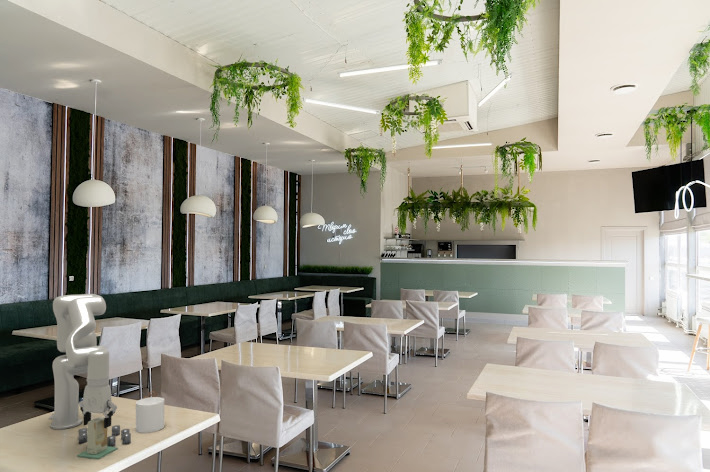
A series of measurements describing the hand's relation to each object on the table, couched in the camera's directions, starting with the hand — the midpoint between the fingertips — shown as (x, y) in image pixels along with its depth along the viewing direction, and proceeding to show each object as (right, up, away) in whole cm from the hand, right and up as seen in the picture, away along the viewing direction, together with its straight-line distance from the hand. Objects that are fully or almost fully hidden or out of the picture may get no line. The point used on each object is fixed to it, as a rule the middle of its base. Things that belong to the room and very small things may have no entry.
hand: (97, 425), depth 192 cm
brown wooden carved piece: (+5, -12, +41) cm, 42 cm away
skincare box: (0, -10, -1) cm, 10 cm away
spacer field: (-3, -11, +12) cm, 16 cm away
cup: (+10, -11, +26) cm, 30 cm away
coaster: (+1, -10, -1) cm, 10 cm away
